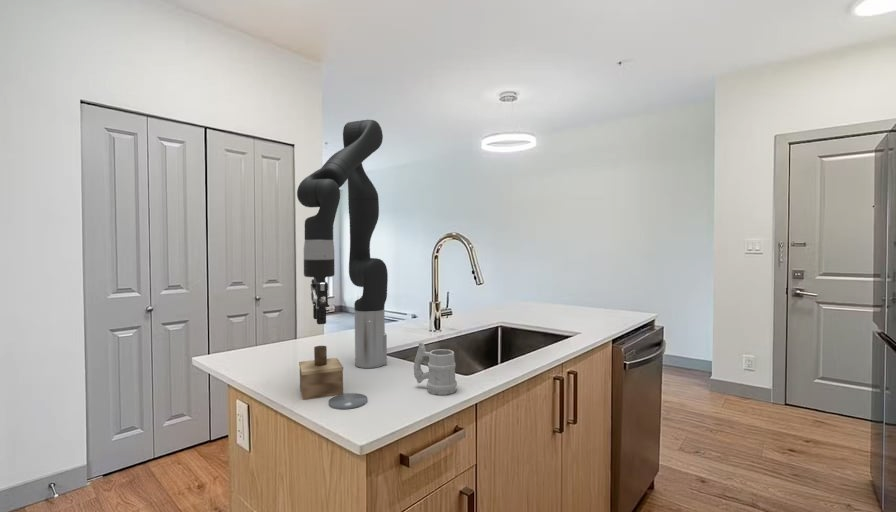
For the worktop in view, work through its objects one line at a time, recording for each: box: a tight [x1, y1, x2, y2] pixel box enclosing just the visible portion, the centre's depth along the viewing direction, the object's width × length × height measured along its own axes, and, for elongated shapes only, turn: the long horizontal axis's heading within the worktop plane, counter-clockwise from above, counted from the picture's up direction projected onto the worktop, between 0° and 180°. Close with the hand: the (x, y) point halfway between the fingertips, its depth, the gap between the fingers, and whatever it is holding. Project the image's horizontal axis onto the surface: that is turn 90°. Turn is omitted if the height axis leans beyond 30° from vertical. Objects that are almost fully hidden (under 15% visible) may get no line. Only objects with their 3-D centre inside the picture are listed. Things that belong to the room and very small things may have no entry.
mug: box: [413, 341, 458, 396], centre depth 110 cm, size 8×12×12 cm, turn 68°
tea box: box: [299, 369, 344, 401], centre depth 110 cm, size 10×10×6 cm
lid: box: [298, 345, 344, 375], centre depth 110 cm, size 10×10×6 cm
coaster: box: [328, 392, 368, 410], centre depth 102 cm, size 9×9×1 cm
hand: (319, 321), depth 110 cm, fingers open, 8 cm apart
